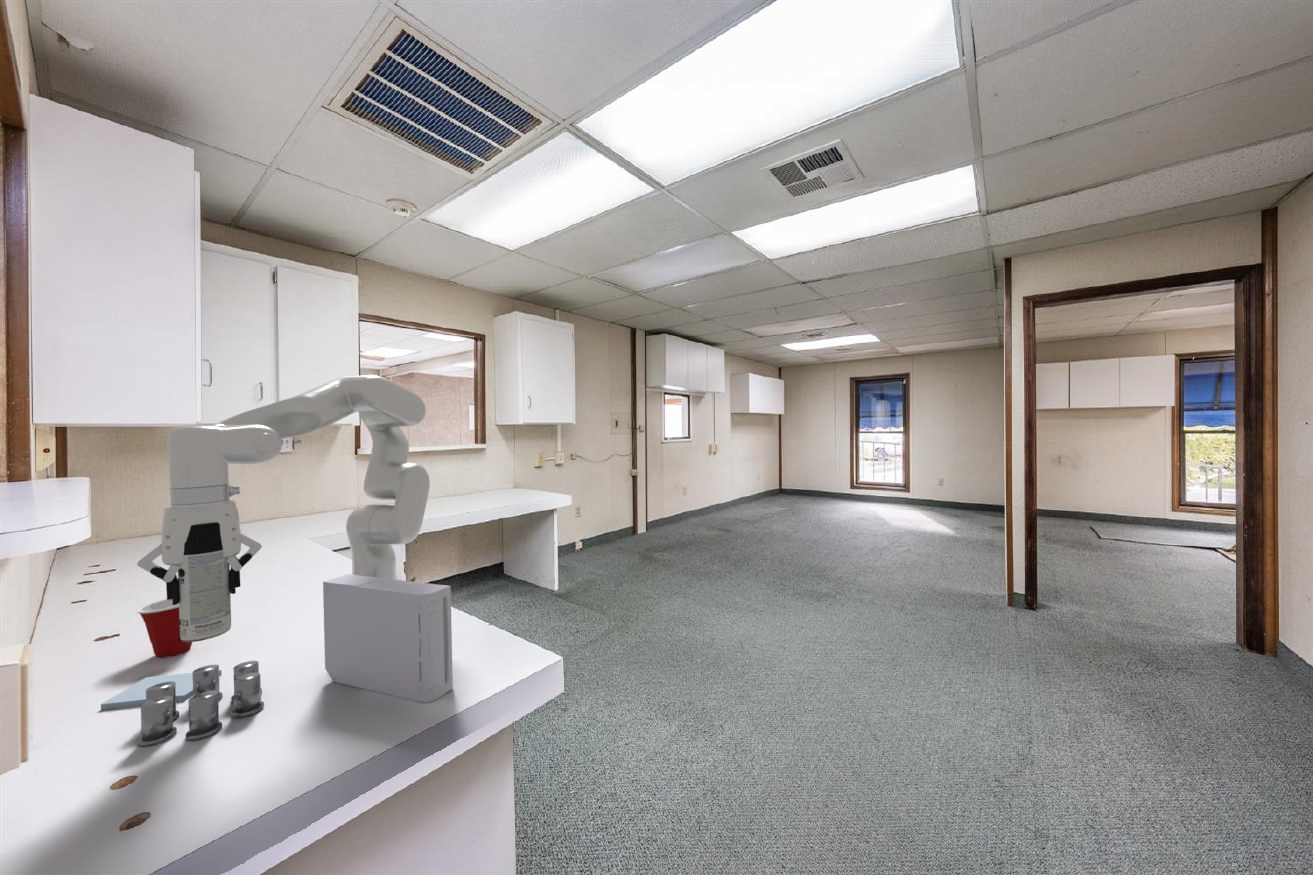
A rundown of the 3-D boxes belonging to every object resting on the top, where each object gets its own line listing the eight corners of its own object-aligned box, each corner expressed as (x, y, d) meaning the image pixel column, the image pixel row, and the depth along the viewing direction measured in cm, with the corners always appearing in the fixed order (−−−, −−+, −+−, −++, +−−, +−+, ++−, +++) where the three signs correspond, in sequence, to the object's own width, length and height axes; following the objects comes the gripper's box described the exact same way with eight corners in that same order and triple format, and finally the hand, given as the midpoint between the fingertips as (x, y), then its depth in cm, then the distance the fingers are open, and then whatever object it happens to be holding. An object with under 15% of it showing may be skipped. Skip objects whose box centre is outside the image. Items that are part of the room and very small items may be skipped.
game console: (429, 705, 87) (427, 595, 87) (323, 681, 97) (321, 581, 96) (453, 689, 93) (451, 585, 92) (351, 667, 102) (349, 573, 102)
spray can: (202, 627, 88) (197, 518, 88) (242, 625, 89) (237, 517, 89) (169, 643, 82) (163, 526, 81) (212, 641, 82) (206, 524, 82)
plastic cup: (155, 647, 114) (153, 596, 114) (213, 639, 118) (212, 590, 118) (125, 667, 104) (123, 612, 104) (190, 658, 108) (188, 604, 108)
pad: (221, 674, 100) (221, 669, 100) (185, 700, 90) (185, 694, 90) (146, 682, 97) (146, 677, 97) (100, 709, 88) (100, 704, 88)
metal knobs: (286, 687, 94) (285, 656, 94) (233, 735, 79) (232, 699, 79) (181, 698, 91) (180, 667, 91) (105, 752, 76) (104, 713, 75)
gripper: (263, 489, 93) (267, 581, 94) (131, 500, 82) (136, 604, 82) (265, 492, 88) (269, 590, 88) (124, 504, 76) (129, 617, 77)
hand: (205, 596), depth 85 cm, fingers closed on spray can, 6 cm apart
